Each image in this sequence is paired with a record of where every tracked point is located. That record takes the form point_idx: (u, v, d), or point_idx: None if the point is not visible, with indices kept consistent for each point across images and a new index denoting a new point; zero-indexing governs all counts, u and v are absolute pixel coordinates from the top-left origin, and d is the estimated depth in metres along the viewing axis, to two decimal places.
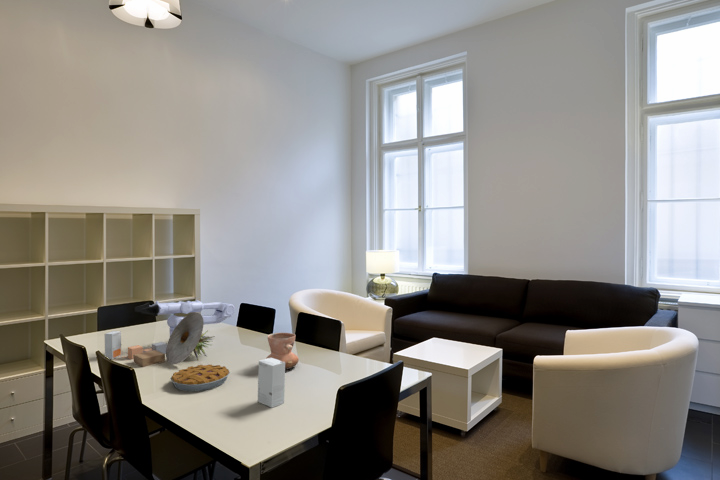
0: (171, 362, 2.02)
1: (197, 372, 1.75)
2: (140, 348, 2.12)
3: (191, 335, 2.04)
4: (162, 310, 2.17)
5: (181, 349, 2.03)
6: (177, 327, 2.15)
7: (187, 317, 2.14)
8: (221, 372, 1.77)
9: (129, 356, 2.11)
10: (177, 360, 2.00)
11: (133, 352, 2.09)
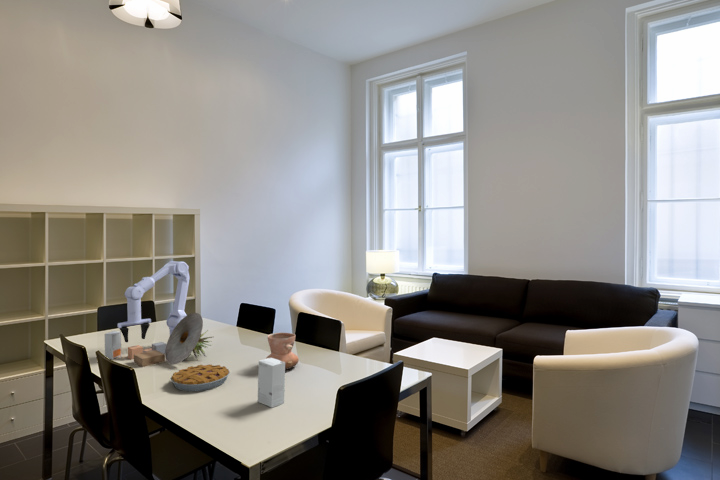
0: (170, 362, 2.02)
1: (197, 372, 1.75)
2: (140, 348, 2.12)
3: (190, 335, 2.04)
4: None
5: (180, 350, 2.03)
6: (176, 327, 2.14)
7: (186, 317, 2.14)
8: (221, 372, 1.77)
9: (129, 356, 2.11)
10: (176, 360, 2.00)
11: (133, 352, 2.09)
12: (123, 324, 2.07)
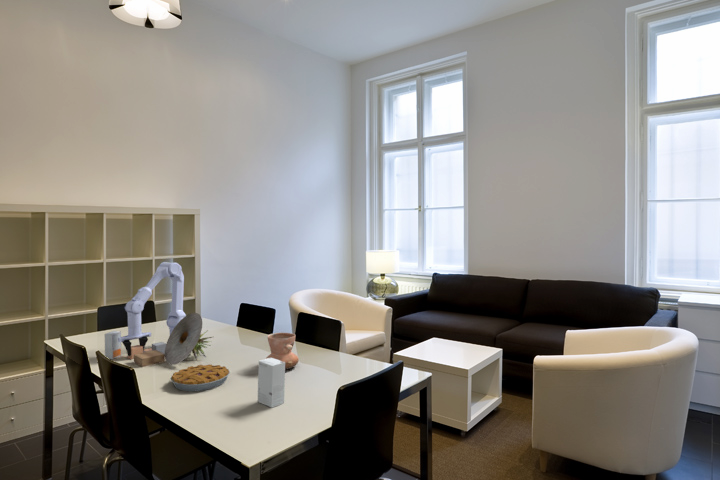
0: (170, 362, 2.02)
1: (197, 372, 1.75)
2: (140, 348, 2.11)
3: (190, 335, 2.04)
4: None
5: (180, 350, 2.02)
6: (176, 327, 2.14)
7: (186, 317, 2.14)
8: (221, 372, 1.77)
9: (129, 356, 2.11)
10: (176, 360, 2.00)
11: (133, 352, 2.09)
12: (123, 338, 2.07)
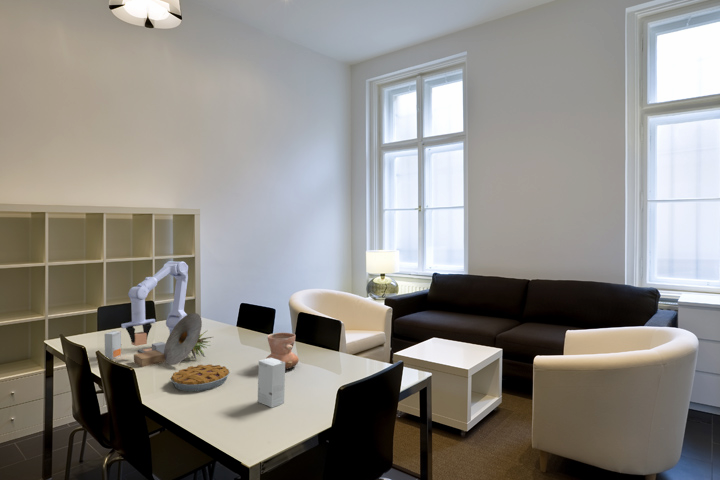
0: (169, 363, 2.01)
1: (197, 372, 1.75)
2: (144, 334, 2.09)
3: (189, 335, 2.03)
4: None
5: (179, 350, 2.02)
6: (175, 327, 2.14)
7: (185, 317, 2.13)
8: (221, 372, 1.77)
9: None
10: (175, 360, 2.00)
11: (137, 338, 2.06)
12: (127, 324, 2.04)
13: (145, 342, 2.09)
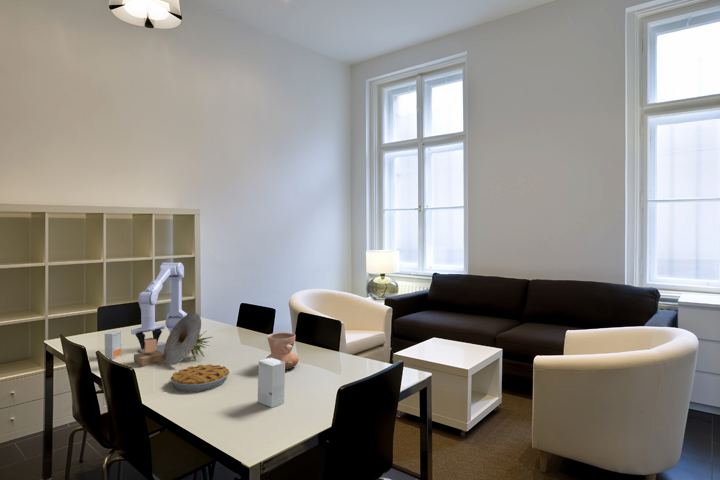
0: (169, 363, 2.01)
1: (197, 372, 1.75)
2: (154, 341, 2.04)
3: (189, 335, 2.03)
4: None
5: (179, 350, 2.02)
6: (175, 327, 2.14)
7: (185, 317, 2.13)
8: (221, 372, 1.77)
9: (142, 349, 2.03)
10: (174, 360, 1.99)
11: (146, 345, 2.01)
12: (137, 330, 1.99)
13: (155, 348, 2.04)
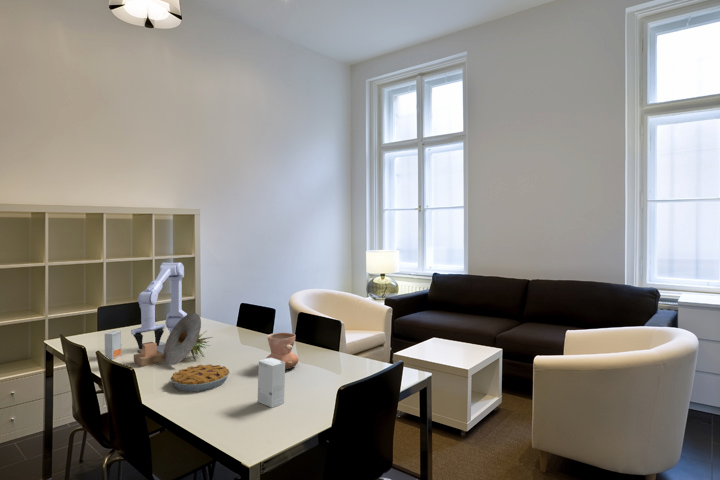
0: (168, 363, 2.01)
1: (197, 372, 1.75)
2: (154, 345, 2.03)
3: (189, 335, 2.03)
4: None
5: (178, 350, 2.02)
6: (175, 327, 2.14)
7: (185, 317, 2.13)
8: (221, 372, 1.77)
9: (142, 353, 2.03)
10: (174, 361, 1.99)
11: (146, 349, 2.01)
12: (137, 330, 1.99)
13: (155, 352, 2.04)
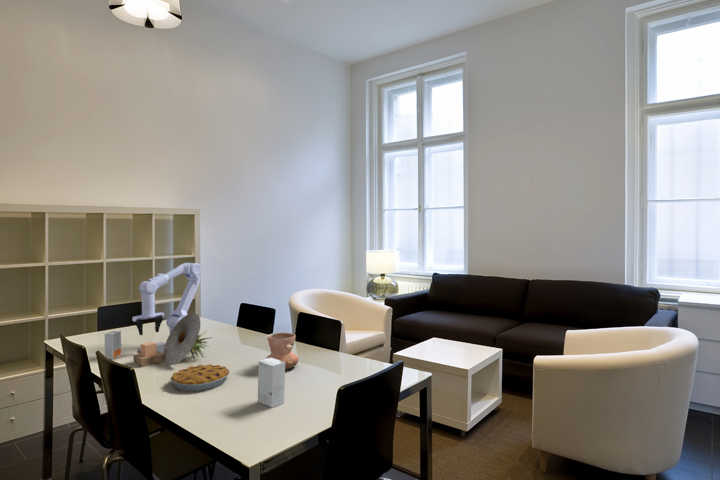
0: (168, 363, 2.01)
1: (197, 372, 1.75)
2: (153, 345, 2.03)
3: (188, 335, 2.03)
4: None
5: (178, 350, 2.02)
6: (175, 328, 2.14)
7: (185, 318, 2.13)
8: (221, 372, 1.77)
9: (142, 353, 2.03)
10: (174, 361, 1.99)
11: (146, 349, 2.01)
12: (138, 317, 2.13)
13: (155, 352, 2.04)
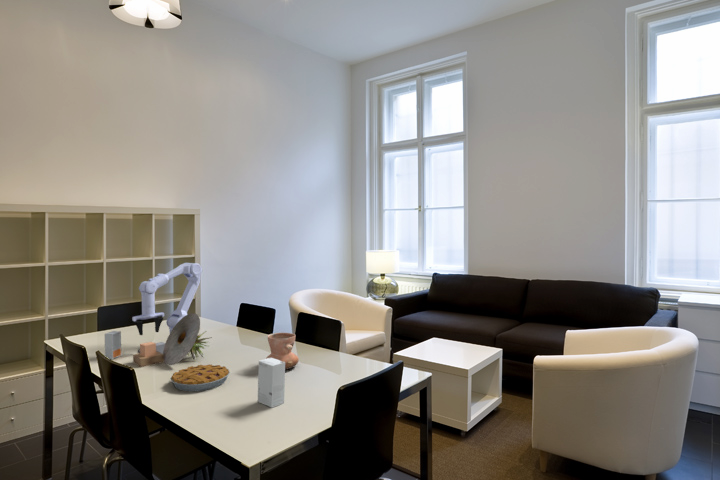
0: (168, 363, 2.01)
1: (197, 372, 1.75)
2: (153, 345, 2.03)
3: (188, 336, 2.03)
4: None
5: (177, 350, 2.01)
6: (175, 328, 2.13)
7: (185, 318, 2.13)
8: (221, 372, 1.77)
9: (141, 353, 2.02)
10: (173, 361, 1.99)
11: (146, 349, 2.01)
12: (138, 317, 2.13)
13: (154, 352, 2.04)
